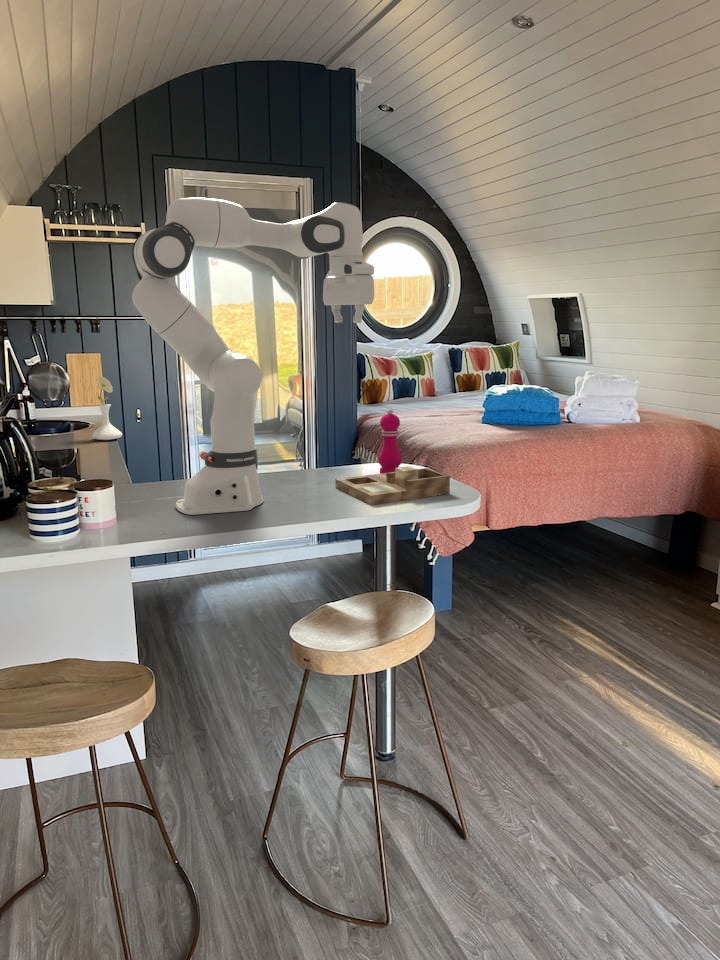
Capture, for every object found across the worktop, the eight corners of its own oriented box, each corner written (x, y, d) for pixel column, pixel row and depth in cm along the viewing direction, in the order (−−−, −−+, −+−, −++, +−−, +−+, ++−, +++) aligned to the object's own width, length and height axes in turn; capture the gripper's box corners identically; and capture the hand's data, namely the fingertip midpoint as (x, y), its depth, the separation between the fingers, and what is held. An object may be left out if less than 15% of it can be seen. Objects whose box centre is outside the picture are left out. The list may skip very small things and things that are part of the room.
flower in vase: (125, 440, 294) (120, 376, 289) (95, 443, 289) (89, 378, 283) (118, 435, 305) (112, 374, 300) (89, 438, 300) (83, 375, 294)
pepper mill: (402, 471, 231) (402, 407, 227) (401, 476, 224) (401, 410, 220) (379, 471, 232) (378, 407, 227) (377, 476, 225) (376, 410, 220)
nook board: (371, 504, 192) (370, 486, 191) (335, 487, 211) (335, 470, 210) (449, 493, 202) (449, 476, 201) (408, 478, 222) (408, 461, 221)
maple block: (403, 487, 200) (403, 470, 199) (395, 484, 204) (395, 467, 203) (418, 485, 202) (418, 469, 201) (409, 482, 206) (409, 466, 205)
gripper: (316, 270, 202) (318, 322, 205) (357, 266, 185) (358, 323, 189) (336, 270, 206) (337, 322, 209) (378, 266, 189) (379, 322, 192)
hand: (347, 322), depth 199 cm, fingers open, 8 cm apart
